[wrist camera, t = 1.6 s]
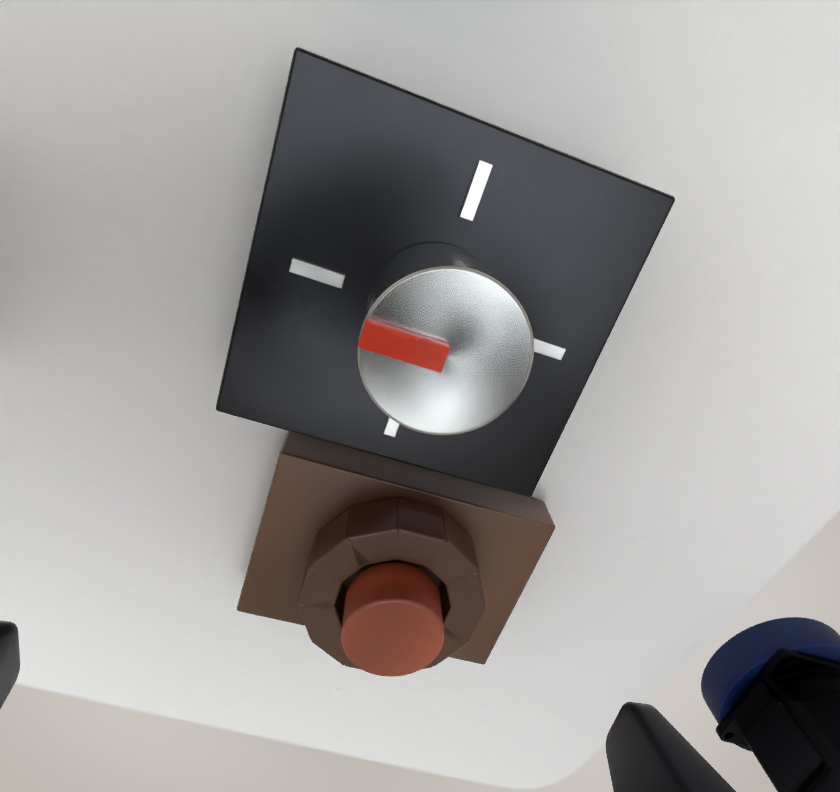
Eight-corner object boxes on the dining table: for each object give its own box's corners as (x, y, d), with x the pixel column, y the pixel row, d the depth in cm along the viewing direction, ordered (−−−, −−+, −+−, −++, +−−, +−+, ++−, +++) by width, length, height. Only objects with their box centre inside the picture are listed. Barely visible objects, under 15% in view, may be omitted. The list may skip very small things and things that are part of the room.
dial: (519, 268, 14) (568, 303, 10) (471, 389, 15) (497, 462, 11) (389, 222, 13) (388, 241, 10) (350, 351, 15) (334, 415, 11)
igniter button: (453, 573, 18) (459, 612, 16) (421, 642, 19) (424, 686, 17) (361, 551, 17) (357, 589, 16) (334, 623, 18) (328, 666, 17)
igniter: (544, 500, 21) (572, 560, 17) (478, 632, 23) (492, 707, 20) (289, 429, 19) (267, 481, 16) (247, 579, 21) (221, 651, 18)
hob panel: (630, 194, 16) (680, 198, 13) (511, 454, 20) (532, 501, 17) (313, 69, 15) (293, 43, 12) (241, 375, 18) (212, 413, 15)
